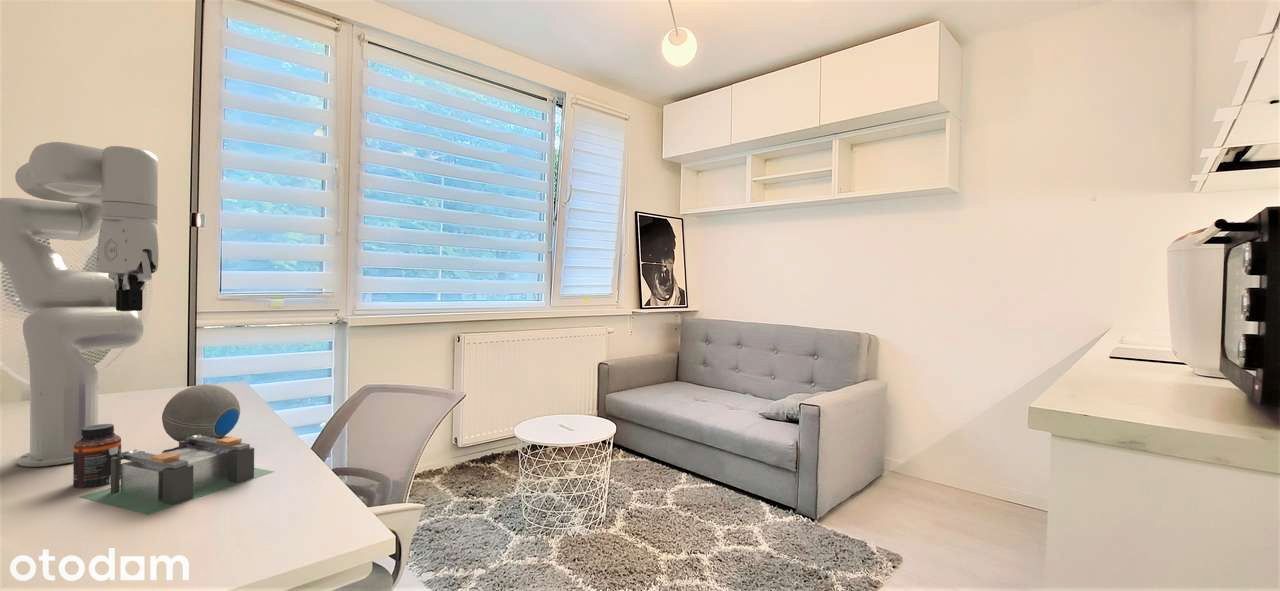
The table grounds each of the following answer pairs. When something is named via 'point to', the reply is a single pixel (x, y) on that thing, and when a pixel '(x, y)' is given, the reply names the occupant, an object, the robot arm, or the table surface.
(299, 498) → the table surface
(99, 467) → the supplement bottle
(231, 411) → the grey egg-shaped pod
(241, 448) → the strap
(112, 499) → the board
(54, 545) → the table surface
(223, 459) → the plate
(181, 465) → the strap
